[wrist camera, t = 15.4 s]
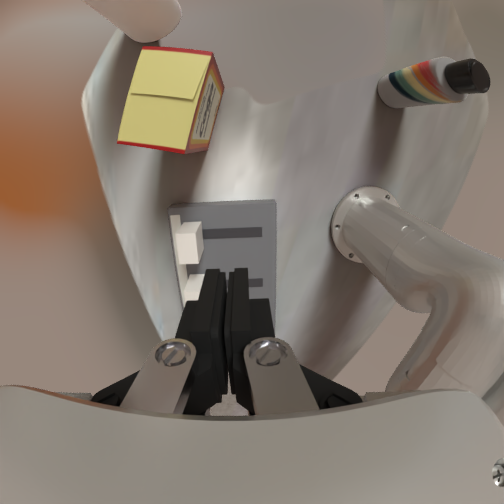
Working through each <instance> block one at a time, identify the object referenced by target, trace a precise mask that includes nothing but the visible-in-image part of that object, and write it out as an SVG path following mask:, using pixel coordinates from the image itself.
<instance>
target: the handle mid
mask: <svg viewBox="0 0 504 504" xmlns="http://www.w3.org/2000/svg"><path fill="white" fill-rule="evenodd" d="M204 275H205V274H190V276H189V279H188V281H187V284H186V287H185V290H184V296H185V302H186V301H188V300H198V298H199V294H200V290H201V286H202V283H203V279H204Z"/></svg>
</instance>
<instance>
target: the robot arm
mask: <svg viewBox="0 0 504 504" xmlns="http://www.w3.org/2000/svg"><path fill="white" fill-rule="evenodd" d="M355 194H356V196H355V197H354V195H355ZM385 196H386V197H385ZM336 225H337V227H335V226H336ZM331 233H332V238H333V242H334V244H335V246H336V248H337V249H338V250H339V252H340V253H341V254H342V255H343V256H344V257H346V258H347V259H349V260H351V261H353V262H357V263H364V264H365V266H366V267H367V268H368V269H369V270H370V271H371V272H372V273H373V275H374V276H375V277H376V278H377V279H378V280H379V282H380V283H381V284H382V285H383V286H384V287H385V289H386V290H387V291H388V292H389V293H390V294H391V296H392V297H393V298H394V299H395V300H396V301H397V303H398V304H400V305H401V306H402V307H404V308H405V309H407V310H409V311H412V312H417V313H430V316H429V318H428V319H427V321H426V323H425V325H424V327H423V328H422V331H421V333H420V334H419V336H418V337H417V339H416V340H415V342H414V344H413V345H412V347H411V348H410V350H409V351H408V352H407V354H406V355H405V357H404V358H403V360H402V361H401V362H400V364H399V366H398V367H397V368H396V370H395V371H394V373H393V375H392V376H391V378H390V379H389V381H388V384H387V386H386V390H385V392H369V393H367V392H366V394H365V396H359V395H358V394H357V393H355V392H354V391H352V390H350V389H348V388H346V387H344V386H342V385H340V384H337V383H336V382H333V381H331V380H329V379H327V378H325V377H323V376H321V375H319V374H317V373H315V372H313V371H311V370H309V369H307V368H306V367H304V366H302V365H300V364H299V363H298V361H297V359H296V356H295V354H294V352H293V350H292V348H291V347H290V345H289V344H288V343H286V342H285V341H284V340H281V339H278V338H275V333H274V327H273V321H272V314H271V308H270V302H269V298H260V299H249V281H248V268H234V272H229V280H228V290H227V285H226V274H225V272H220V269H206V271H205V275H204V279H203V283H202V286H201V290H200V294H199V298H198V300H188V301H186V304H185V307H184V310H183V313H182V317H181V320H180V323H179V326H178V330H177V333H176V336H175V338H173V339H168V340H165V341H162V342H160V343H159V344H157V345H156V346H155V347H154V348H153V349H152V351H151V352H150V354H149V356H148V358H147V359H146V361H145V363H144V364H143V366H142V368H141V370H139V371H138V372H136V373H134V374H132V375H130V376H128V377H126V378H124V379H122V380H120V381H118V382H116V383H114V384H112V385H110V386H109V387H106V388H104V389H102V390H101V391H99V392H98V393H96V394H95V395H94V396H92V395H91V393H62V392H51V391H47V390H43V389H39V388H34V387H28V386H21V385H4V386H0V504H504V260H503V259H501V258H498V257H496V256H493V255H491V254H488V253H485V252H483V251H481V250H478V249H476V248H474V247H472V246H469V245H467V244H465V243H463V242H461V241H459V240H458V239H456V238H454V237H452V236H450V235H448V234H447V233H445V232H443V231H441V230H440V229H438V228H436V227H434V226H432V225H430V224H429V223H427V222H425V221H423V220H421V219H419V218H418V217H416V216H414V215H412V214H410V213H408V212H406V211H404V210H402V209H400V207H399V204H398V202H397V201H396V199H395V198H394V197H393V196H392V195H391V194H390V193H389V192H387V191H386V190H384V189H382V188H379V187H375V186H364V187H359V188H357V189H354V190H353V191H351V192H350V193H348V194H347V195H346V196H345V197H344V198H343V199H342V200H341V201H340V203H339V204H338V205H337V207H336V209H335V211H334V214H333V218H332V223H331ZM228 370H229V378H230V385H231V393H232V394H236V400H237V403H239V404H240V405H241V406H243V407H244V408H246V409H247V410H248V416H210V407H212V406H213V405H214V404H216V403H221V402H222V394H227V391H228Z"/></svg>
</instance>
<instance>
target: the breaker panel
mask: <svg viewBox="0 0 504 504" xmlns="http://www.w3.org/2000/svg"><path fill="white" fill-rule="evenodd" d="M167 209H168V217H169V226H170V234H171V241H172V248H173V255H174V262H175V268H176V275H177V281H178V287H179V292H180V298H181V303H182V309H183V310H184V307H185V304H186V302H185V296H184V290H185V287H186V284H187V281H188V279H189V276H190V274H205V271H206V269H220V272H225V274H226V285H227V290H228V280H229V272H234V268H248V281H249V299H260V298H269V302H270V308H271V314H272V321H273V327H274V333H275V309H276V202H275V200H243V201H220V202H202V203H186V204H172V205H171V206H170V207H169V208H167ZM199 221H201V222H202V234H203V244H204V250H203V253H202V256H201V259H200V262H199V264H179V258H178V251H177V243H176V235H175V234H176V233H177V231H178V230H179V228H180V227H181V225H182V224H183V223H184V222H199Z"/></svg>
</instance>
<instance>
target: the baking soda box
mask: <svg viewBox="0 0 504 504" xmlns="http://www.w3.org/2000/svg"><path fill="white" fill-rule="evenodd" d="M223 91H224V84H223V81H222V78H221V75H220V72H219V69H218V66H217V64H216V60H215V57H214V54H213V53H212V52H208V51H201V50H193V49H183V48H172V47H154V46H143V48H142V50H141V53H140V56H139V59H138V62H137V65H136V68H135V72H134V75H133V78H132V82H131V85H130V89H129V92H128V96H127V100H126V104H125V108H124V112H123V116H122V121H121V125H120V130H119V135H118V140H117V144H125V145H132V146H139V147H145V148H152V149H158V150H164V151H169V152H175V153H180V154H188V153H194V152H200V151H205V150H208V147H209V143H210V139H211V135H212V131H213V127H214V123H215V120H216V116H217V112H218V109H219V105H220V101H221V98H222V94H223Z"/></svg>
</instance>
